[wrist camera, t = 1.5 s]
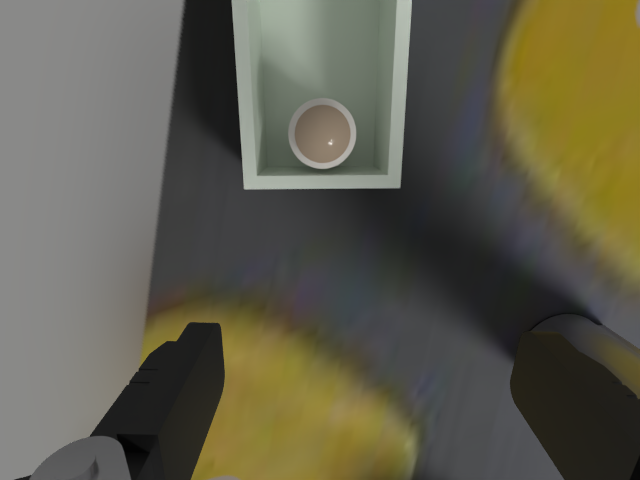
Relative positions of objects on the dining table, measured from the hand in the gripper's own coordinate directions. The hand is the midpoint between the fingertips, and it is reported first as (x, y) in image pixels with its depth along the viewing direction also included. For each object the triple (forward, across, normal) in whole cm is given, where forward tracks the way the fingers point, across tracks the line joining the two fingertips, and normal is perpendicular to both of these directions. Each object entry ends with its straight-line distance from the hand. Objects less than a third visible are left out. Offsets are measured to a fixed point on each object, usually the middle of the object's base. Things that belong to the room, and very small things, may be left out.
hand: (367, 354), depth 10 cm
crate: (+28, +2, -10) cm, 30 cm away
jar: (+26, +2, -4) cm, 27 cm away
